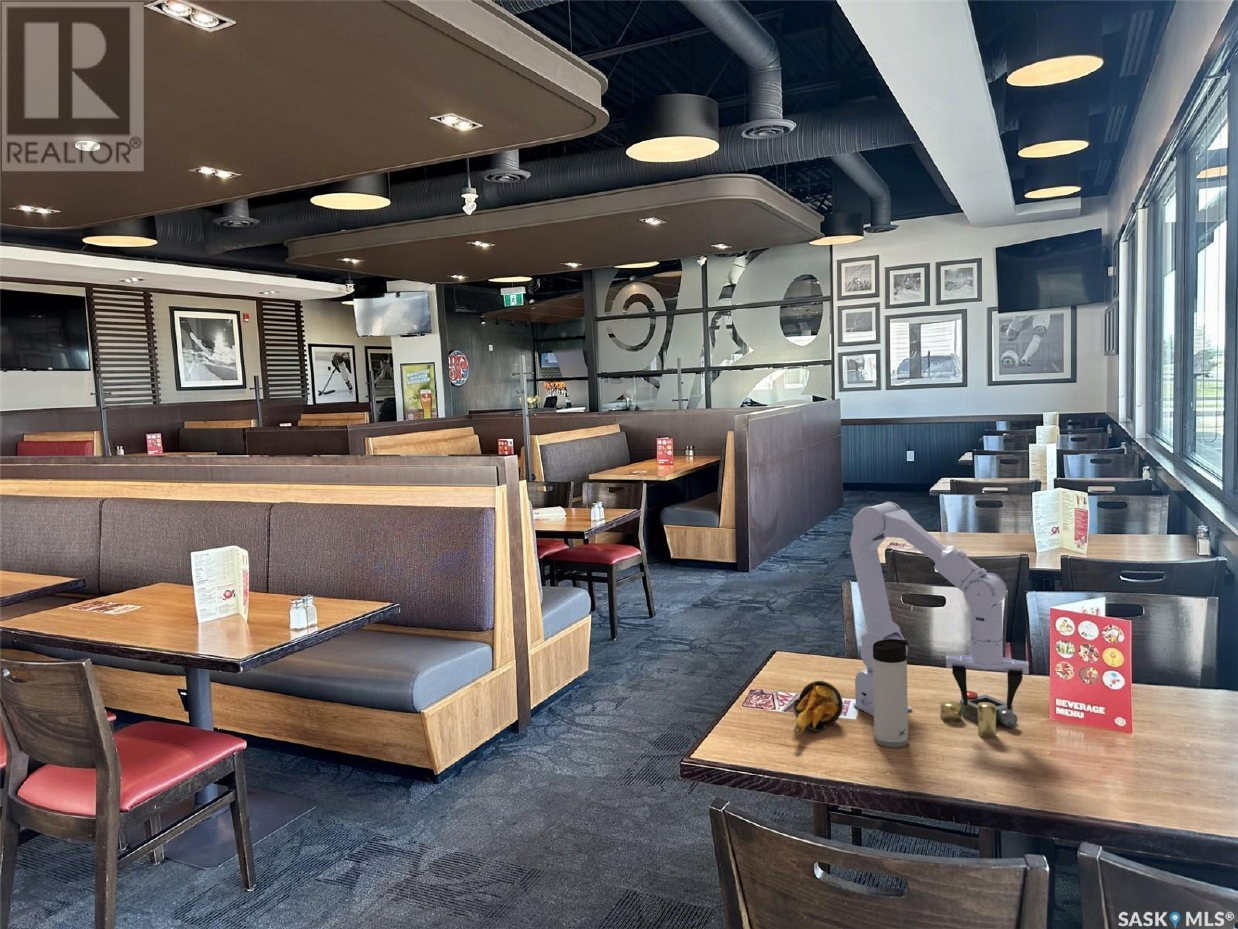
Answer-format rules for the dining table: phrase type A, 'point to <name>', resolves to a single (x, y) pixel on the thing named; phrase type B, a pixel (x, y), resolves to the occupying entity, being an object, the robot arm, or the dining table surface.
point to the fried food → (817, 707)
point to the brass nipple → (986, 720)
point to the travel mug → (890, 693)
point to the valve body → (1002, 713)
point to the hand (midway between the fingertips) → (987, 705)
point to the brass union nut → (950, 711)
